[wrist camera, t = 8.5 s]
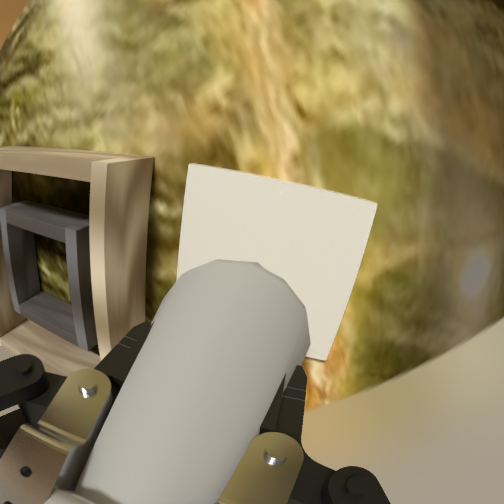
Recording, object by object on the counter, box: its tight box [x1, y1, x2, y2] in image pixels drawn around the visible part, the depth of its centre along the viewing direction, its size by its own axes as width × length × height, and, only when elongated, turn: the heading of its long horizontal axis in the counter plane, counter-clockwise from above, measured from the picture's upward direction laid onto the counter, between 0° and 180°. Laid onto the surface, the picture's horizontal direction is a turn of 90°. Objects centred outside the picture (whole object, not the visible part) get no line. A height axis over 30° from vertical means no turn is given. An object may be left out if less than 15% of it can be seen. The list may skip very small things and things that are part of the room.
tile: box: [177, 163, 377, 361], centre depth 17 cm, size 10×10×1 cm
